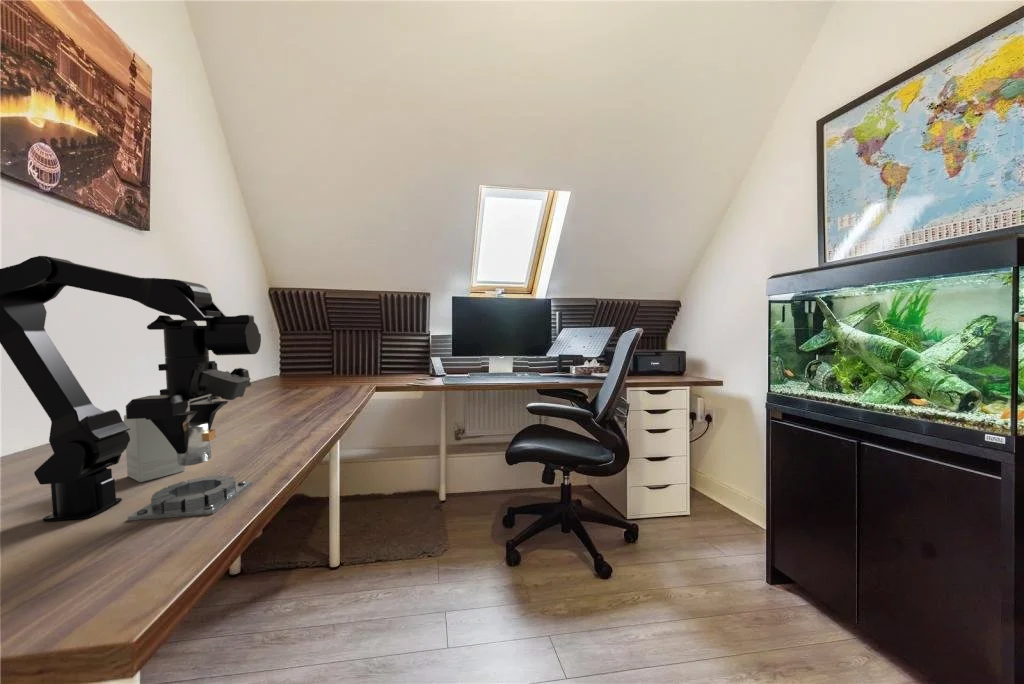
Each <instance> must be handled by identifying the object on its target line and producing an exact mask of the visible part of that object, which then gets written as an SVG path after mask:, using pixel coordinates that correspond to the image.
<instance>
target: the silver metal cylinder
mask: <svg viewBox="0 0 1024 684" xmlns="http://www.w3.org/2000/svg"><path fill="white" fill-rule="evenodd" d="M216 438H217V434H216V429H210V430H209V429H208V422H203V421H199V422H190V423H189V432H188V446H187V452H186V453H185V454H178V453H177V452H176V453H177V462H178V465H180V466H185V467H187V466H189V467H190V466H194V465H199V464H202V463H205V462H208V461H209V460H211V458H212V448H211V441H212V440H214V439H216Z"/></svg>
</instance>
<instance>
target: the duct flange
mask: <svg viewBox="0 0 1024 684" xmlns="http://www.w3.org/2000/svg"><path fill="white" fill-rule="evenodd" d="M252 485H253V480H251V481H250V480H247V481H245V480H241V481H236V478H235V477H234V476H230V475H209V476H206V477H205V476H202V477H196V478H192V479H187V481H185V480H182V481H180V482H177V483H174V484H171V485H168V486H167V487H164V488H162V489H161V488H160V490H158V491H156V492H154V493H153V494H152V495H151V500H150V503H149V504H147V505H145V506H144V507H142V508H141V509H139V510H137V511H135V512H134V513H131V514H130V515H128V516H127V518H126V519H127V521H140V520H152V519H155V520H156V519H166V518H168V519H169V518H181V517H182V518H183V517H193V516H204V515H205V516H207V515H214V514H215V513H217V512H218V511H219V510H220V509H222V508H223V507H225V506H226V505H227V504H228V503H230V502H231V501H232V500H233V499H235V498H237V496H239V495H240V494H241V493H243V492H244V491H245V490H247V489H248V488H249V487H251V486H252Z"/></svg>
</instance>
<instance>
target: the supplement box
mask: <svg viewBox="0 0 1024 684" xmlns="http://www.w3.org/2000/svg"><path fill="white" fill-rule="evenodd" d="M123 422H124V423H125V424H126V425H127V426H128V427H129V428H130V430H127V432H128V434H129V436H130V442H129V443H128V446H127V448H126V449H125V457H126V459H125V460H126V472H127V477H128V478H131V479H133V480H135V481H136V482H139V483H143V482H147V481H151V480H155V479H159V478H163V477H167V476H170V475H171V476H172V475H174V474H179V473H183V472H184V471H185V470H186V466H180V465H178V462H177V453H176V450H175V449H174V448H173V446H172V445H171V444H170V443H169V441H168V440H167V439H166V437H165V436H164V435H163V433H162V432H161V431H160V430H159V429H158V428H157V427H156V426H155V425H154V423H153V422H152V421H151V420H146V419H145V418H141V419H127V418H126V414H124V415H123Z"/></svg>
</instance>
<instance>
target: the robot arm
mask: <svg viewBox="0 0 1024 684" xmlns="http://www.w3.org/2000/svg"><path fill="white" fill-rule="evenodd" d="M65 287H72V288H77V289H82V290H85V291H86V290H87V291H91V292H96V293H101V294H105V295H110V296H115V297H120V298H123V299H124V298H125V299H129V300H132V301H136V302H138V303H139V304H141V305H143V306H145V307H146V308H150V309H152V310H154V311H158V312H160V313H163V314H164V315H163V314H162V315H158V316H157V318H156V319H155V320H153V321H152V322H151V323H149V324H148V325H147V326H146V329H147V330H149V331H152V330H154V331H157V330H159V331H160V330H163V344H164V345H163V346H164V348H163V349H164V362H165V363H160V364H157V365H158V368H157V369H158V371H161V372H162V371H165V380H166V382H165V383H166V388H162V389H159V395H158V394H156V395H155V394H154V395H146V396H142V397H137V398H132V399H131V400H130V401H129V402H128V403H127V404H126V405H125V415H126V418H127V419H141V418H145V419H146V420H151V421H152V422H153V423H154V425H155V426H156V427H157V428H158V429H159V430H160V431H161V432H162V433H163V435H164V436H165V437H166V439H167V440H168V441H169V443H170V444H171V445H172V446H173V448H174V449H175V450H176V452H177V453H178V454H185V453H186V452H187V446H188V432H189V423H190V422H199V421H203V422H208V429H209V430H212V429H211V428H212V426H213V421H214V419H215V416H216V415H217V412H218V411H219V410H220V409H222V407H224V406H225V405H227V404H228V403H229V401H233V400H235V399H236V398H243V397H244V394H245V392H246V389H247V388H248V387H251V385H252V382H251V377H250V372H249V369H245V368H243V367H238V368H234V369H233V370H232V371H228V370H226V371H223V370H219V369H218V363H217V362H216V360H210V351H211V352H212V354H214V355H216V356H239V355H240V356H242V355H243V356H245V355H247V356H248V355H257V354H258V352H259V351H260V348H261V344H262V343H261V342H262V336H261V333H260V330H259V327H258V325H257V324H256V322H255V317H254V315H252V314H239V315H233V316H227V315H226V314H225V313H224V312H223V311H222V309H220V307H219V306H218V305H217V304H216V303H215V302H214V301H213V297H212V293H211V292H210V291H209V289H208V287H206V286H205V285H203V284H201V283H196V282H192V281H191V282H190V281H186V280H182V279H175V278H162V277H161V278H159V277H139V276H133V275H130V274H124V273H120V272H117V271H111V270H108V269H107V270H106V269H102V268H98V267H93V266H90V265H89V266H87V265H84V264H81V263H80V264H79V263H76V262H75V263H74V262H73V261H70V260H68V259H64V258H63V259H62V258H58V257H51V256H48V255H47V256H46V255H38V256H34V257H29V258H28V259H26V260H23V261H22V262H20V263H17V264H14V265H10V266H6V267H2V268H0V345H1V347H2V348H3V350H4V352H6V354H7V355H8V358H9V359H10V360H11V362H12V364H13V365H14V366H15V367H16V369H17V371H18V373H19V374H20V375H21V378H23V379H24V382H25V383H26V385H27V386H28V387H29V389H30V390H31V392H32V393H33V395H34V397H35V398H36V399H37V401H38V403H39V404H40V406H41V408H42V409H43V411H44V412H45V413H46V414H47V416H48V418H49V420H50V422H51V423H50V432H49V436H48V437H49V438H48V442H49V444H50V446H51V450H52V452H53V454H52V455H51V456H49V457H48V459H46V460H45V461H44V462H43V463H41V465H40V466H39V467H38V468H37V469H36V470H35V471H33V474H34V476H35V478H36V480H37V481H38V484H39V485H41V486H42V485H50V492H51V494H50V495H51V502H52V503H51V505H52V506H51V508H52V513H51V514H48V515H45V516H44V517H42V522H52V521H64V520H65V521H66V520H75V519H76V520H77V519H87V518H91V517H93V516H95V515H97V514H98V513H101V512H102V511H104V510H107V509H108V508H111V507H112V506H115V505H116V504H119V503H120V502H122V500H123V499H122V497H117V495H116V480H115V478H114V477H113V471H112V469H113V468H110V467H111V466H114V465H117V464H119V462H120V459H121V456H122V454H123V453H124V452H126V448H127V446H128V443H129V442H130V436H129V434H128V432H127V430H130V428H129V427H128V426H127V425H126V424H125V423H124V419H123V418H122V416H121V413H120V412H119V411H118V410H117V409H111V410H107V411H104V410H102V409H100V408H98V407H96V406H95V405H94V404H93V402H92V401H91V399H90V398H89V397H88V394H86V391H85V390H84V389H83V387H82V386H81V384H80V382H79V381H78V379H77V378H76V376H75V374H74V373H73V372H72V370H71V369H70V367H69V365H68V364H67V362H66V361H65V359H64V357H63V355H62V354H61V353H60V351H59V350H58V349H57V346H56V345H55V344H54V342H53V341H52V338H51V337H50V335H49V333H47V331H46V329H45V328H46V327H45V324H46V320H47V319H46V318H47V309H46V306H45V303H48V302H49V301H52V300H54V299H56V297H58V295H59V294H60V293H61V292H62V290H63V289H64V288H65ZM171 316H180V317H182V318H183V319H174V318H172V317H171ZM197 322H205V324H206V325H198V324H197ZM221 399H222V400H221ZM108 467H109V468H108Z"/></svg>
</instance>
